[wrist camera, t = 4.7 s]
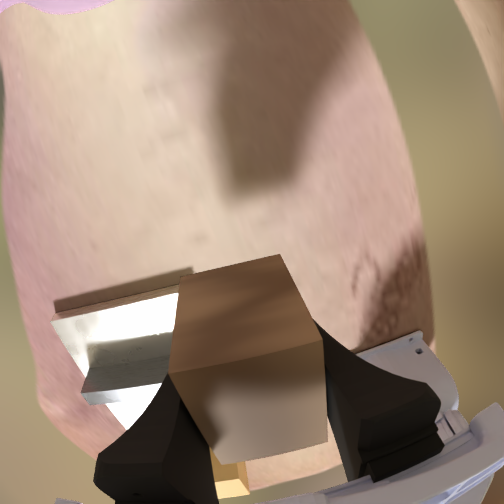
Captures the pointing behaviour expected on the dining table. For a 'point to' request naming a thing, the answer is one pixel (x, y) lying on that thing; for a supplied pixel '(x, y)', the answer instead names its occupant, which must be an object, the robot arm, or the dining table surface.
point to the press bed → (121, 348)
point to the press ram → (229, 478)
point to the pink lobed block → (57, 5)
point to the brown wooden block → (249, 361)
